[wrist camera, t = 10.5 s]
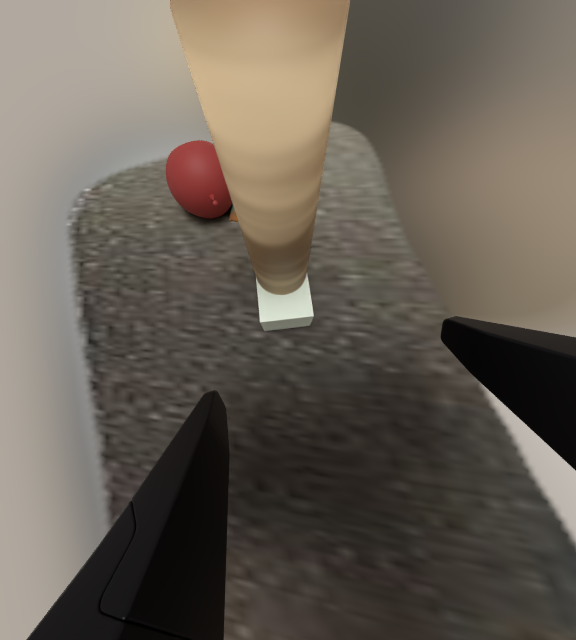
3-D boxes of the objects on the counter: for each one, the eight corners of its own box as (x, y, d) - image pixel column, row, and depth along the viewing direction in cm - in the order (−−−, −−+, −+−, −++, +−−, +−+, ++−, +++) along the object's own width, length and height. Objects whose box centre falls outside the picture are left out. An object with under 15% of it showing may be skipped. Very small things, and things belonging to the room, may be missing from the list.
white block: (310, 325, 19) (313, 316, 17) (264, 331, 19) (260, 322, 16) (298, 245, 22) (299, 224, 19) (256, 250, 21) (251, 229, 19)
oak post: (302, 298, 17) (340, 62, 4) (251, 290, 17) (145, 43, 5) (309, 252, 18) (357, -47, 5) (261, 245, 18) (197, -58, 6)
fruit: (196, 236, 24) (176, 220, 17) (169, 180, 23) (133, 134, 15) (248, 216, 25) (252, 191, 17) (226, 160, 23) (219, 106, 16)
